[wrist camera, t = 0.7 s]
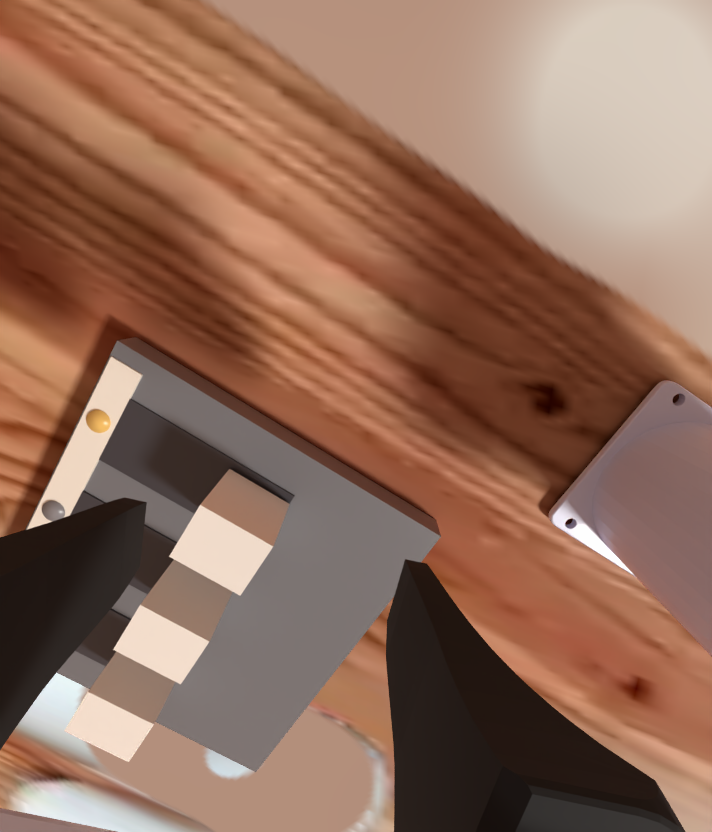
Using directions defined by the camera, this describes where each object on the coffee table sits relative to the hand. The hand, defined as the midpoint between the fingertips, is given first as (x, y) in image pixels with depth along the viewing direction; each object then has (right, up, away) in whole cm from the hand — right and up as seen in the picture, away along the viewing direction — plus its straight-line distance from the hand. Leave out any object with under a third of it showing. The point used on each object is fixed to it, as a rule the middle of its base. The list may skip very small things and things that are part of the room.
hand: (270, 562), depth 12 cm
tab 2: (-5, -4, +9) cm, 11 cm away
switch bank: (-5, -4, +10) cm, 12 cm away
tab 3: (-8, -8, +10) cm, 15 cm away
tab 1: (-3, 0, +7) cm, 8 cm away
